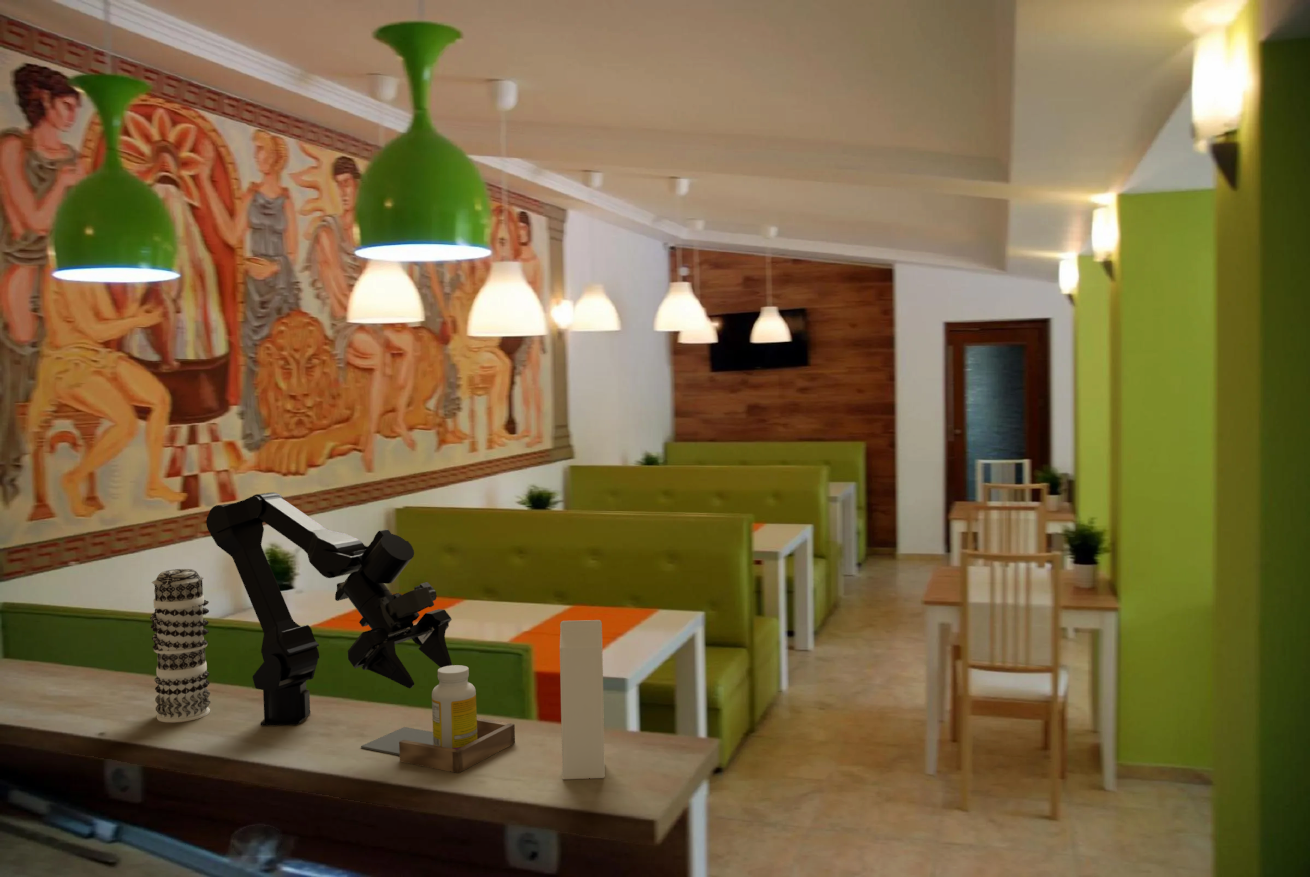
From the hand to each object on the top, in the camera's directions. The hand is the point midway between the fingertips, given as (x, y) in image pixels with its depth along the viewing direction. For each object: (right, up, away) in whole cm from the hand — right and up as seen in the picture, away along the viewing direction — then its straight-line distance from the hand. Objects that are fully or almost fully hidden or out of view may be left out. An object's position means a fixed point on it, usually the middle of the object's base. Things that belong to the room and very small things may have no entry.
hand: (432, 678), depth 161 cm
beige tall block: (+24, -11, -10) cm, 29 cm away
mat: (-5, -11, +3) cm, 12 cm away
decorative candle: (-47, -11, +19) cm, 52 cm away
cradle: (+4, -11, -2) cm, 12 cm away
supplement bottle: (+4, -11, -1) cm, 12 cm away
